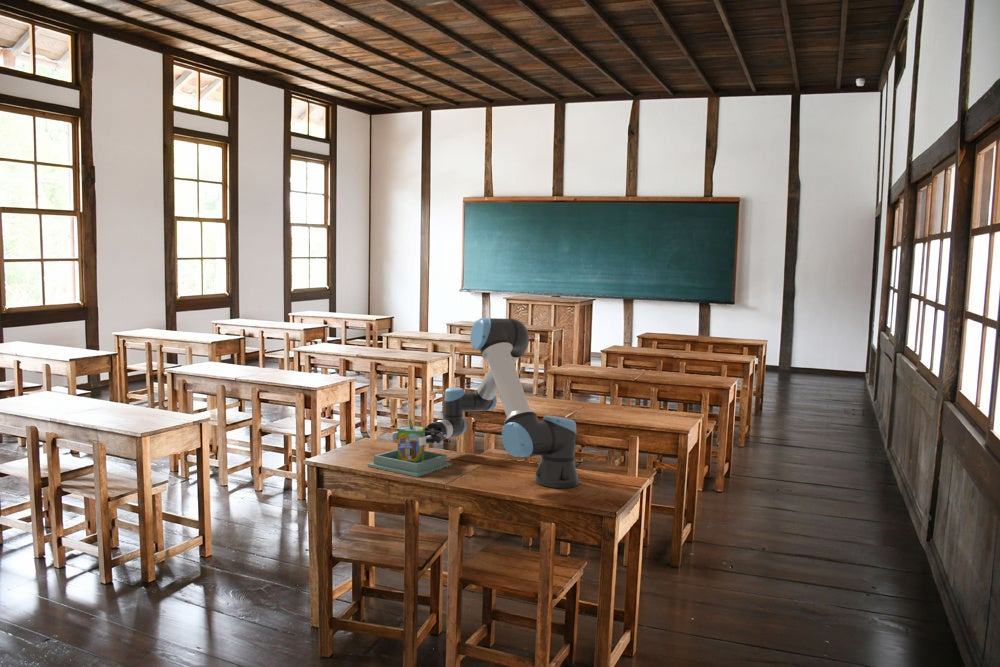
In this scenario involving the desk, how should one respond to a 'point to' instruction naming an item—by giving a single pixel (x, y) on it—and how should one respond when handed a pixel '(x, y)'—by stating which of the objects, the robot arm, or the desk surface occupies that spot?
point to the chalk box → (410, 443)
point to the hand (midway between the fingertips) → (405, 439)
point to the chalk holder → (410, 463)
